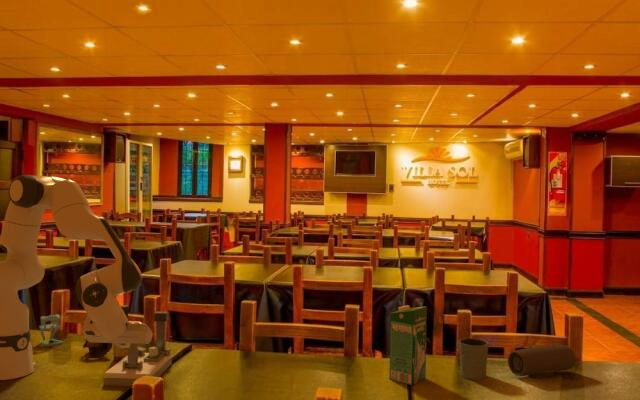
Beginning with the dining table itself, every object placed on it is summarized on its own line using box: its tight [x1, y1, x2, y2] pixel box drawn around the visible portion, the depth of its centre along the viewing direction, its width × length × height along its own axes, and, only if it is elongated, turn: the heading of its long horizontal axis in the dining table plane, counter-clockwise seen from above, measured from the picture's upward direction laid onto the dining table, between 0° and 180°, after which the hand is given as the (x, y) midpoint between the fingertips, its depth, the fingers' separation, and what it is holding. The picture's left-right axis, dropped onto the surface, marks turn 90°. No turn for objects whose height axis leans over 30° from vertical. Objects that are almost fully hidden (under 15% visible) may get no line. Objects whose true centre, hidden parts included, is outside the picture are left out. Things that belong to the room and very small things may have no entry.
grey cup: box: [458, 337, 489, 381], centre depth 188 cm, size 10×10×12 cm
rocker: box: [138, 346, 147, 355], centre depth 194 cm, size 4×3×2 cm
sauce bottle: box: [112, 304, 130, 362], centre depth 201 cm, size 7×6×20 cm
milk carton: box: [388, 305, 428, 386], centre depth 184 cm, size 9×9×25 cm
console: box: [103, 347, 173, 387], centre depth 185 cm, size 15×22×6 cm
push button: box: [148, 346, 158, 358], centre depth 188 cm, size 3×3×3 cm
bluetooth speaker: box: [507, 344, 576, 379], centre depth 190 cm, size 23×9×10 cm, turn 111°
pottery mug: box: [82, 339, 113, 360], centre depth 205 cm, size 12×10×8 cm
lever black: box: [153, 310, 170, 355], centre depth 193 cm, size 4×2×15 cm, turn 87°
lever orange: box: [126, 320, 142, 369], centre depth 179 cm, size 4×2×15 cm, turn 87°
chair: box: [38, 313, 63, 348], centre depth 220 cm, size 8×8×12 cm
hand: (125, 345), depth 173 cm, fingers closed
